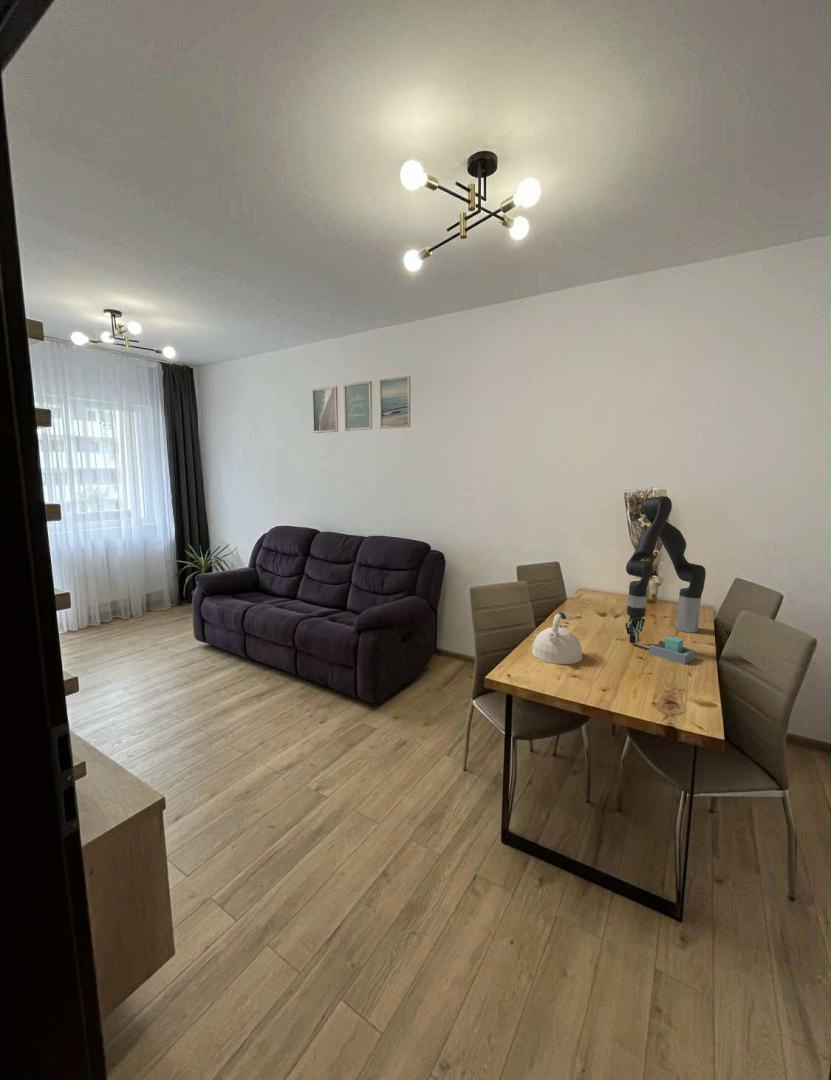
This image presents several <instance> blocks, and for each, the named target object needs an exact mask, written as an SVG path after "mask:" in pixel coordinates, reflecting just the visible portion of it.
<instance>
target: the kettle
mask: <svg viewBox="0 0 831 1080" xmlns="http://www.w3.org/2000/svg"><path fill="white" fill-rule="evenodd" d="M566 619H567V616H566V613H563V612H558V613H556V614H555V615H554V618H553V621H552V627H547V628H546V629H543V630H542V631H540V632H539V633H538V634H537V636H536V637H535V639H534V641H533V644H532V651H531V652H532V655H533V656H534V657H535V658H537V659H538V660H541V661H543V662H547V663H550V664H556V665H572V664H577V663H579V662H580V661H582V660H583V647H582V646H581V642H580V640H579V639H578V637H577V636H576V635H575V634H574V633H573V632H572V631H570V630H569V629H566V628H564V627H563V625H560V626H559V624H560V620H566Z"/></svg>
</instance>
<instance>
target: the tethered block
mask: <svg viewBox="0 0 831 1080" xmlns="http://www.w3.org/2000/svg"><path fill="white" fill-rule="evenodd" d="M635 636H636V637H635V643H634V644H633V643H630V645H634V646H639V647H642V648H646V649H649V647H650V645H646V644H643V643H639V642H637V638H638V633H637V632H636V635H635ZM664 640H665V641H664V642H665V649H668V650H671V651H675V652H678V653H682V649H683V647H684V639H683V638H680V637H679V638H678V637H676V636H668V637H666V638H665V639H664Z"/></svg>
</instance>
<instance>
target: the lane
mask: <svg viewBox="0 0 831 1080" xmlns="http://www.w3.org/2000/svg"><path fill="white" fill-rule="evenodd" d="M657 645H658V646H657ZM657 645H653V644H650V645H649V646H650V647H649V648H648V650H649V651H648V654H649V655H653V656H656V657H659V658H662V659H667V660H670V661H672V662H676V663H680V664H683V665H686V664H687V663H689V662H691V661H693V660H695V659H696V649H693V648H688V647H685V646H683V649H682V653H678V652H675V651H671V650H668V649H665V641H663V640H659V641H658V644H657Z"/></svg>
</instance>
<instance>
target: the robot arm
mask: <svg viewBox="0 0 831 1080" xmlns="http://www.w3.org/2000/svg"><path fill="white" fill-rule="evenodd" d="M672 503H673V502H672V500H671V498H670V497H669V496H666V495H663V496H662V495H661V496H652V497H646V498H645V499H643V500H642V502H641V508H642V509H641V510H642V512H643V514H644V517H645V518H646V519H647V520H648V522H649V524H650V525H648V527H647V528H646V529H645V530H644V532H643V533H642V534H641V535H640V536H639V539H638V541H637V545H636V548H635V551H634V552H633V554H632V556H631V557H630V558H629V559H628V561H627V563H626V565H625V571H626V573H627V574H628V575H629V576H633V577H638V578H639V577H640V578H641V579H640V580H633V581H630V582H629V586H628V596H627V604H626V614H627V615H628V616H629V620H628V622H625V629H626V633H627V635H629V643H630V644H631V643H633V644H634V643H635V637H636V636H635V635H636V632H637V633H638V638H637V643H639V639H640V634H641V632H642V631H643V630H644V629H643V628H644V625H645V621H646V620H645V617H646V614H647V613H646V612H647V603H648V602H647V593H648V584H649V582H650V579H651V576H652V574H653V572H654V566H653V564H652V562H650V561H646V560H645V559H650V558H651V559H652V557H653V555H654V551H655V550H656V549H655V548H656V545H657V541H658V539H659V540H660V542H661V544H662V546H663V547H664V549H665V551H666V552H667V554H668V556H669V558H670V560H671V563H672V565H673V568H674V570H675V573H676V576H677V577H678V578H679V579H680V580H681V581H683V582H685V583H686V582H688V583H689V586H688V587H683V588H681V589H679V592H678V593H679V594H678V605H677V606H678V608H677V617H676V618H677V619H676V625H675V626H676V629H677V630H678V631H681V632H685V633H692V634H693V633H698V632H699V623H700V613H701V606H702V605H701V604H702V603H701V602H702V594H703V592H704V588H705V582H706V575H707V573H706V572H707V571H706V568H705V567H704V565H701V564H695V563H690V562H688V560H687V559H686V557H685V552H686V549H687V542H686V539H685V537H684V535H683V533H682V532H681V530H679V529H678V528H677V527H676V526H674V525H673V524H671V523H670V522H668V521H667V520H668V519H669V517H670V514H671V512H672V509H673V508H672V507H673V504H672ZM644 560H645V561H644ZM633 644H632V645H633Z"/></svg>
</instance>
